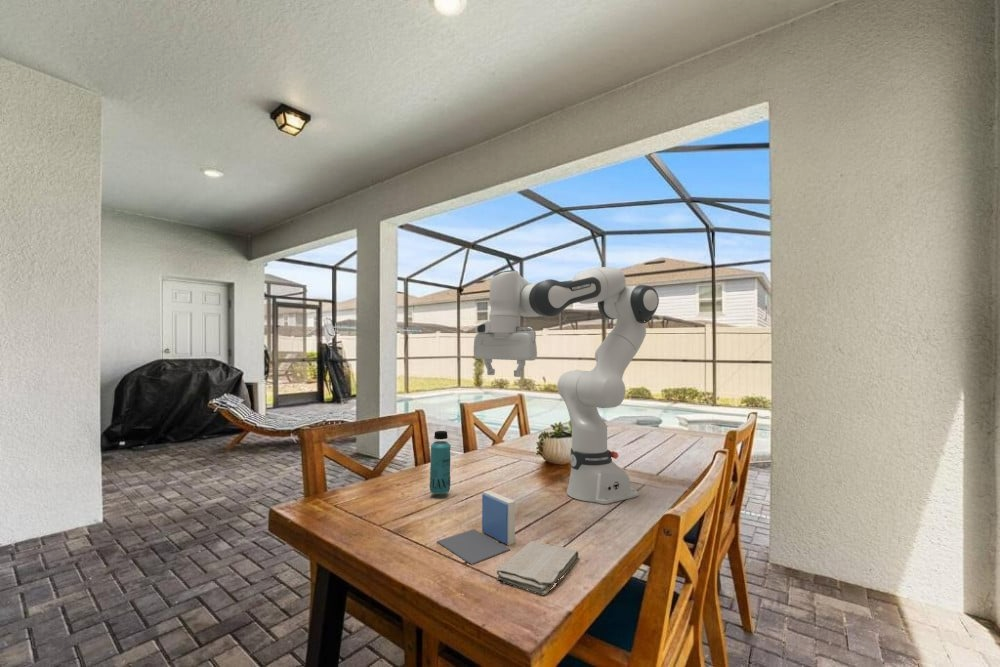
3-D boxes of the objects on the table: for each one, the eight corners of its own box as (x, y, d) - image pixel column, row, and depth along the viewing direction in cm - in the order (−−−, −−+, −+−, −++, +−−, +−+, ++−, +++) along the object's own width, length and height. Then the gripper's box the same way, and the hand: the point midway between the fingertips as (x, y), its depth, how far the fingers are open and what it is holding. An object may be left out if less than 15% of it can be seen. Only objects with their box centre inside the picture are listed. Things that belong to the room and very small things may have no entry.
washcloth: (493, 584, 89) (493, 568, 89) (530, 548, 105) (531, 534, 105) (548, 601, 83) (548, 584, 83) (579, 560, 99) (579, 546, 99)
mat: (473, 530, 113) (474, 529, 113) (510, 550, 102) (510, 548, 102) (436, 542, 106) (436, 541, 106) (471, 565, 95) (471, 563, 95)
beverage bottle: (425, 497, 137) (426, 432, 137) (436, 490, 143) (437, 428, 143) (444, 500, 134) (444, 434, 135) (454, 493, 141) (454, 430, 141)
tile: (488, 529, 114) (489, 490, 114) (514, 543, 106) (515, 501, 106) (481, 532, 112) (481, 492, 112) (506, 546, 104) (507, 503, 105)
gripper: (541, 327, 122) (541, 377, 122) (484, 328, 135) (483, 373, 134) (529, 326, 117) (528, 378, 117) (470, 327, 130) (469, 374, 129)
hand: (504, 375), depth 126 cm, fingers open, 8 cm apart
